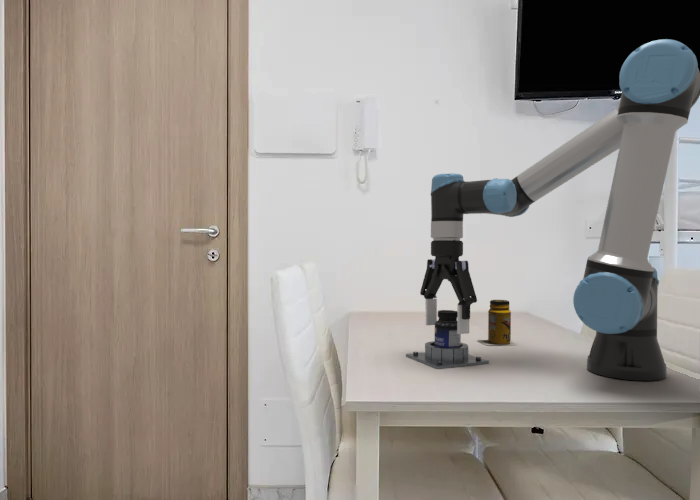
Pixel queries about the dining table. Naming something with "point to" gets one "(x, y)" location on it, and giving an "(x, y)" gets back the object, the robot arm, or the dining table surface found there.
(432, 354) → the fitting
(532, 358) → the dining table surface
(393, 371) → the dining table surface
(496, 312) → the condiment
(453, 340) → the pill bottle
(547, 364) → the dining table surface
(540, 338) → the dining table surface
